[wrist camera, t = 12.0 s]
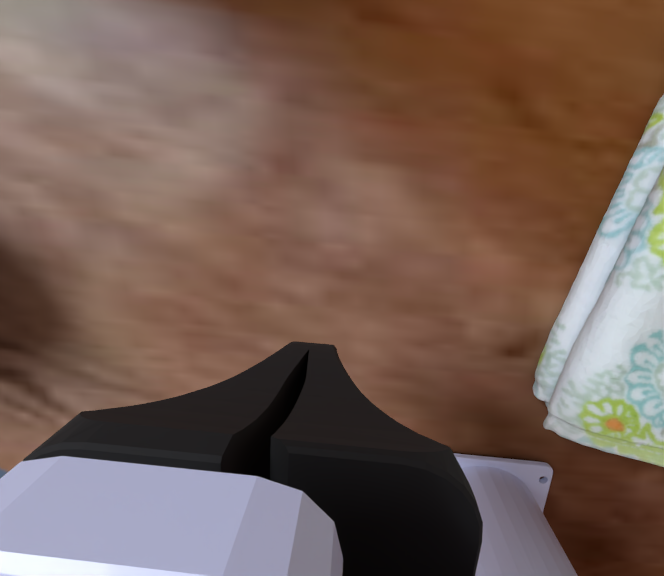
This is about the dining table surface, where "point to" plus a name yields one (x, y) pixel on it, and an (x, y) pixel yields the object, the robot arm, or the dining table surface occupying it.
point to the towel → (615, 322)
